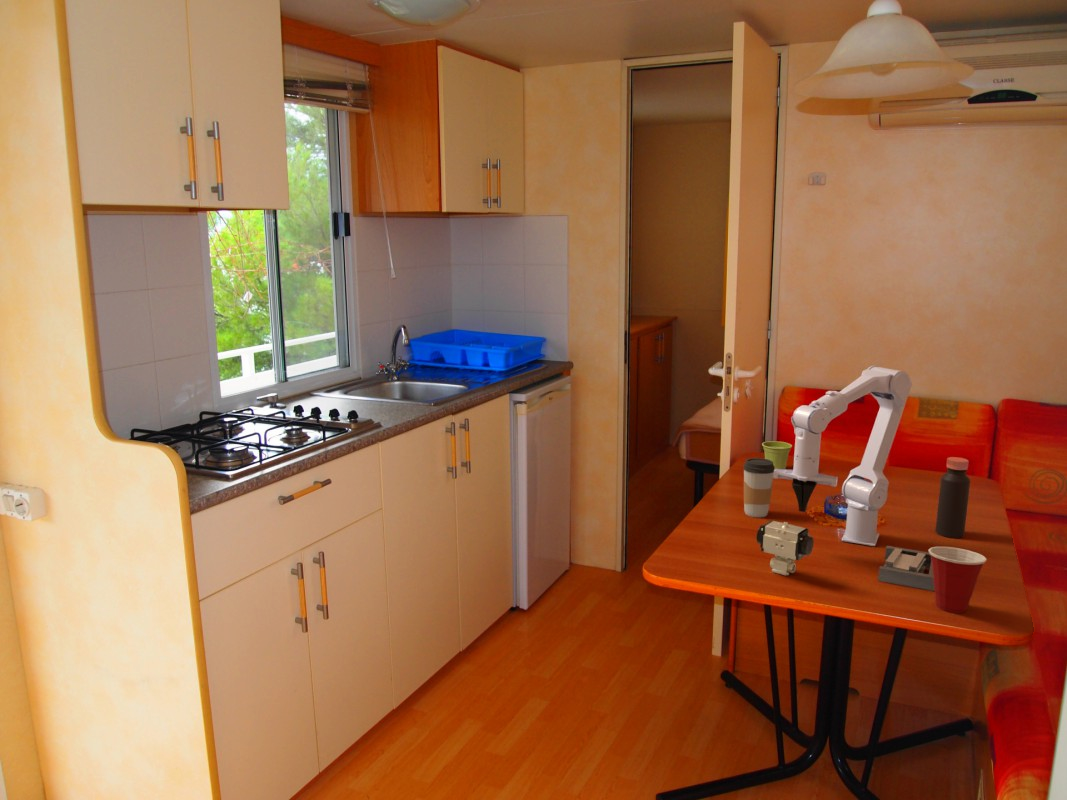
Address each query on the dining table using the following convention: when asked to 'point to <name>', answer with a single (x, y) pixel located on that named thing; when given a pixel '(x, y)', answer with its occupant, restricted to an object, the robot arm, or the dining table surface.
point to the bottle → (953, 499)
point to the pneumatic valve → (784, 545)
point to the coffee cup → (757, 486)
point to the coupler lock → (906, 561)
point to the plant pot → (777, 453)
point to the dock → (907, 572)
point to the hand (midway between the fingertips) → (802, 510)
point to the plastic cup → (954, 576)
